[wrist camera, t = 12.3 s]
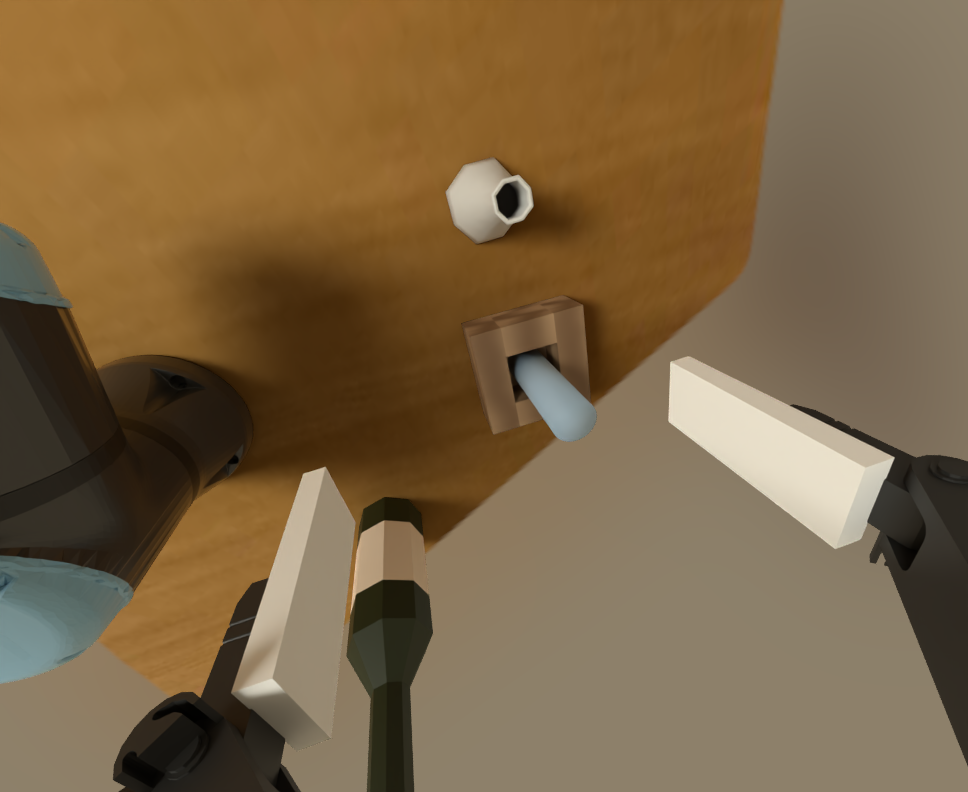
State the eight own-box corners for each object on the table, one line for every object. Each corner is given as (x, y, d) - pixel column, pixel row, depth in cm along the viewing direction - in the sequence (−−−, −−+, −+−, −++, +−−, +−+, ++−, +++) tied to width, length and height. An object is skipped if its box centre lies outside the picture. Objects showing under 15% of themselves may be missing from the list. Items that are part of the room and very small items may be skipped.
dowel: (510, 380, 44) (555, 447, 32) (504, 350, 43) (549, 408, 30) (542, 371, 45) (598, 433, 33) (537, 340, 43) (594, 394, 31)
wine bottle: (352, 503, 48) (306, 850, 22) (416, 490, 50) (444, 803, 24) (365, 548, 52) (341, 889, 26) (425, 535, 54) (458, 846, 27)
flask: (532, 215, 38) (574, 216, 29) (473, 257, 38) (497, 271, 30) (495, 141, 34) (531, 118, 26) (431, 189, 35) (445, 182, 26)
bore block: (484, 413, 47) (493, 434, 42) (461, 323, 41) (469, 336, 37) (572, 386, 48) (591, 404, 44) (563, 295, 42) (583, 304, 38)
